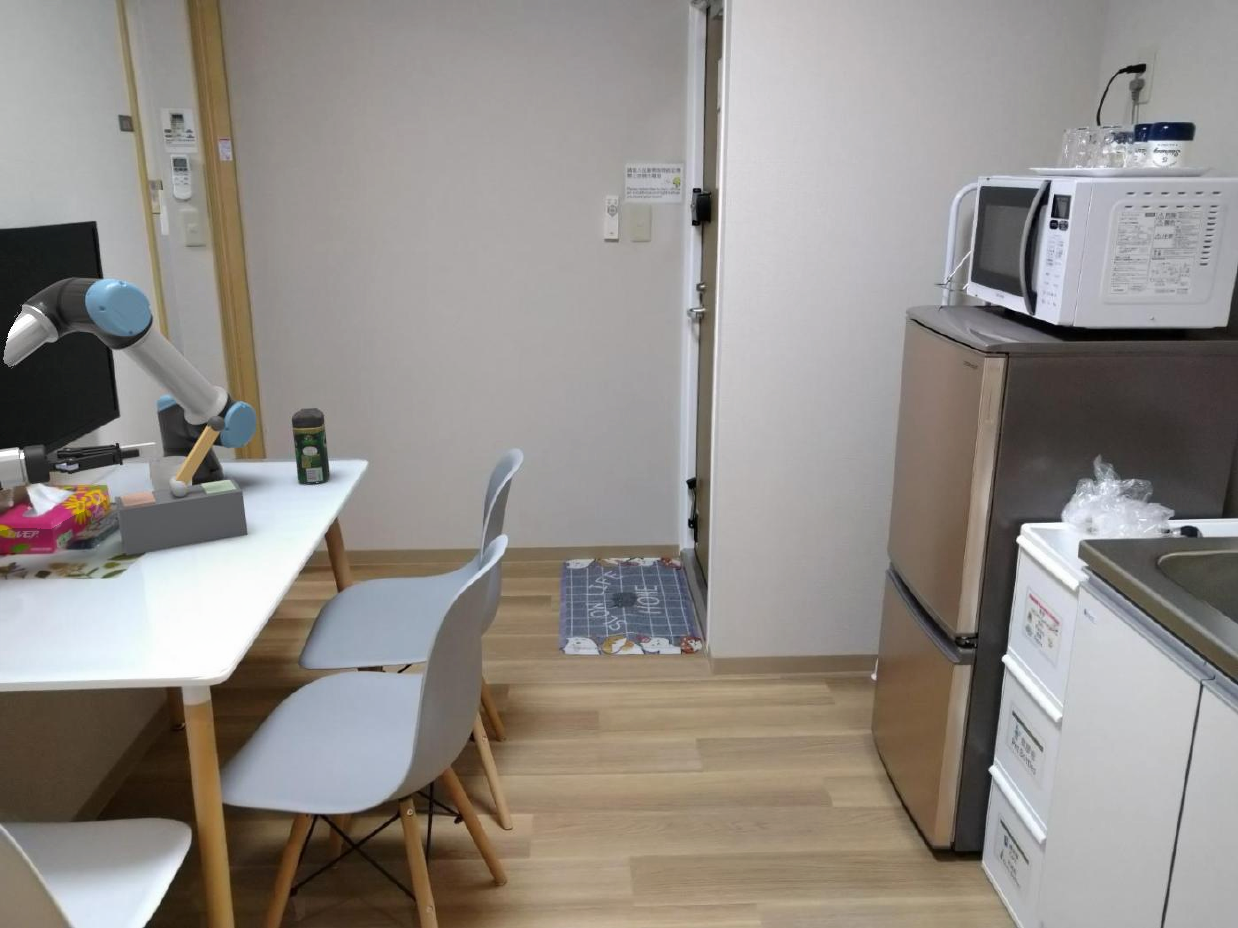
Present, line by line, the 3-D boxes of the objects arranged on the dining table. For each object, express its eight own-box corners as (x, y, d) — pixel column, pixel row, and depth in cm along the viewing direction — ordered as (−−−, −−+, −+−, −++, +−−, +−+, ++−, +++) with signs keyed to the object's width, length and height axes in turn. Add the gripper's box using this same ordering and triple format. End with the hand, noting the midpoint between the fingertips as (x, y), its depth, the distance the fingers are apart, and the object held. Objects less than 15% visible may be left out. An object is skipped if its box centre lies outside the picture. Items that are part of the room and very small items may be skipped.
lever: (164, 484, 205) (210, 410, 206) (180, 492, 207) (225, 418, 208) (168, 492, 200) (215, 415, 201) (184, 499, 202) (231, 423, 203)
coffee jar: (300, 474, 251) (293, 406, 246) (331, 473, 252) (325, 405, 247) (295, 485, 242) (288, 415, 237) (327, 484, 243) (321, 413, 238)
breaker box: (121, 540, 205) (114, 495, 202) (238, 520, 217) (233, 477, 214) (126, 555, 197) (118, 508, 194) (247, 534, 209) (242, 489, 206)
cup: (162, 518, 218) (154, 469, 215) (150, 509, 225) (142, 460, 221) (202, 510, 224) (195, 461, 220) (189, 500, 230) (183, 453, 227)
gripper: (27, 476, 193) (154, 459, 205) (28, 492, 182) (162, 474, 194) (20, 440, 191) (149, 425, 203) (22, 455, 180) (157, 438, 192)
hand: (155, 449), depth 199 cm, fingers closed
